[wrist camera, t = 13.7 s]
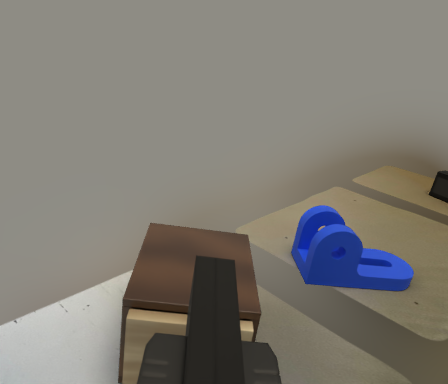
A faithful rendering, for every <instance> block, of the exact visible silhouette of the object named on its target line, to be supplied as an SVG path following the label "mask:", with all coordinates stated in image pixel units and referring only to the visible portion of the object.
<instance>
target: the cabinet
mask: <svg viewBox="0 0 448 384" xmlns="http://www.w3.org/2000/svg"><path fill="white" fill-rule="evenodd" d="M196 255H198V256H206V257H214V258H222V259H231V260H235V268H236V280H237V292H238V304H239V316H240V318H241V320H244V321H252V322H253V330H254V332H253V337H252V341H251V342H255V338H256V334H257V329H258V325H259V320H260V316H261V310H260V304H259V298H258V292H257V286H256V280H255V274H254V268H253V262H252V256H251V250H250V244H249V238H248V235H245V234H237V233H228V232H221V231H212V230H203V229H196V228H188V227H180V226H171V225H164V224H156V223H150V225H149V228H148V231H147V234H146V236H145V239H144V242H143V245H142V248H141V250H140V253H139V256H138V258H137V261H136V264H135V267H134V269H133V272H132V275H131V278H130V280H129V283H128V286H127V289H126V292H125V294H124V297H123V306H122V323H121V341H120V358H119V376H118V383H122V380H123V364H124V348H125V332H126V318H127V315H128V312H129V309H139V310H140V308H146V309H155V310H165V311H174V312H184V313H188V307H189V300H190V293H191V287H192V280H193V273H194V266H195V260H196Z"/></svg>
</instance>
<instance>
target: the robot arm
mask: <svg viewBox="0 0 448 384" xmlns="http://www.w3.org/2000/svg"><path fill="white" fill-rule="evenodd" d="M137 384H282V383H281V378H280V376H279V368H278V362H277V357H276V356H275V354H274V352H273V351H272V349H271V348H270V346H269V345H268V343H260V342H250V341H242V340H241V328H240V316H239V304H238V292H237V280H236V268H235V260H231V259H222V258H214V257H206V256H198V255H196V260H195V266H194V273H193V280H192V287H191V293H190V300H189V307H188V314H187V324H186V334H185V336H183V335H174V334H164V333H155V334H154V335H153V336H152V338H151V339H150V340H149V341H148V343H147V344H146V346H145V350H144V355H143V359H142V363H141V368H140V372H139V376H138V381H137Z"/></svg>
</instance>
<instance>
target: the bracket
mask: <svg viewBox="0 0 448 384" xmlns="http://www.w3.org/2000/svg"><path fill="white" fill-rule="evenodd" d="M321 226H325V227H324V228H322V229H321V230H319V231H317V230H318V229H319V228H320V227H321ZM291 253H292V256H293V258H294V260H295V262H296V264H297V266H298V269H299V271H300V273H301V275H302V277H303V279H304V282H305V284H314V285H326V286H339V287H352V288H365V289H378V290H391V291H402V290H405V289H407V288H408V286H409V284H410V282H411V279H412V277H413V274H414V272H413V269H412V268H411V266H410V265H409V264H408V263H406V262H405V261H404V260H402V259H401V258H399V257H397V256H395V255H393V254H390V253H388V252H385V251H381V250H376V249H366V248H363V246H362V242H361V240H360V239H359V238H358V236H357V235H356V234H355V233H354V232H353V230H352V229H350V228H349V227H347V226H345V222H344V220H343V219H342V217H341V216H340V215H339V214H338V212H337V211H336V210H335V209H333V208H331V207H329V206H316V207H313V208H311V209H309V210H308V211H306V212H305V213H304V214H303V216H302V217H301V219H300V221H299V224H298V228H297V232H296V236H295V240H294V244H293V248H292V252H291Z"/></svg>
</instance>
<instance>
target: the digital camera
mask: <svg viewBox="0 0 448 384" xmlns="http://www.w3.org/2000/svg"><path fill="white" fill-rule="evenodd" d="M429 195H431V196H433V197H436V198H438V199H441V200H443V201H445V202H448V171H439V172H438V173H437V175H436V178H435V180H434V183H433V186H432V188H431V191H430V193H429Z"/></svg>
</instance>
